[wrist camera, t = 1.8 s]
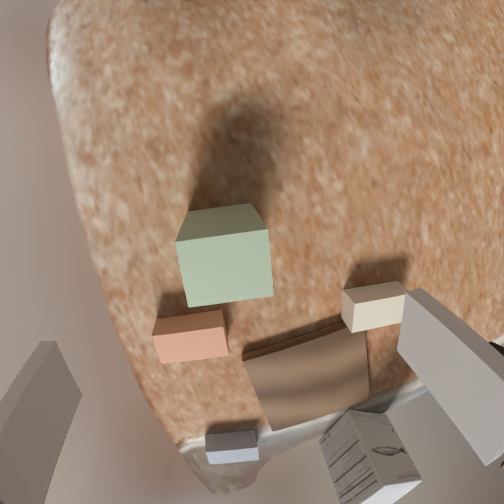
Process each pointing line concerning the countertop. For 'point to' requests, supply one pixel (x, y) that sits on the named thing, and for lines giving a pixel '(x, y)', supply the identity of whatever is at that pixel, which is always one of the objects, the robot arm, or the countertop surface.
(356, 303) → the cream brick
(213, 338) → the terracotta brick
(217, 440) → the slate brick
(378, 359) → the countertop surface
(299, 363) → the walnut board
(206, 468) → the countertop surface
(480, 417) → the robot arm
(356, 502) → the supplement box
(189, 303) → the sage brick
